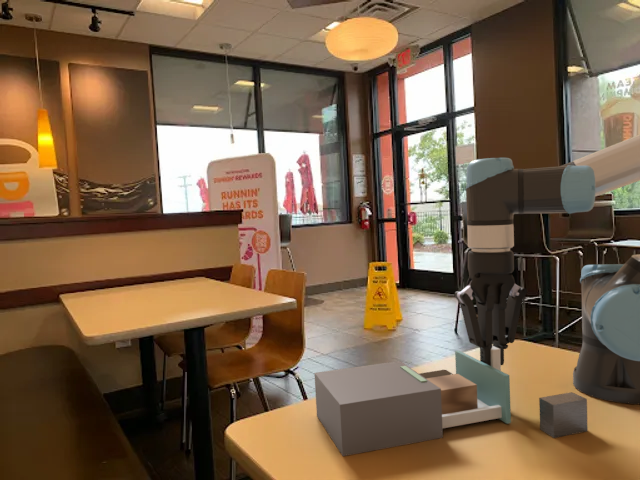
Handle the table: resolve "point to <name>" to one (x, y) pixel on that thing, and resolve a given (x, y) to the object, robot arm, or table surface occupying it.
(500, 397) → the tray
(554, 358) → the table surface
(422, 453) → the table surface
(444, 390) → the walnut block
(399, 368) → the housing
